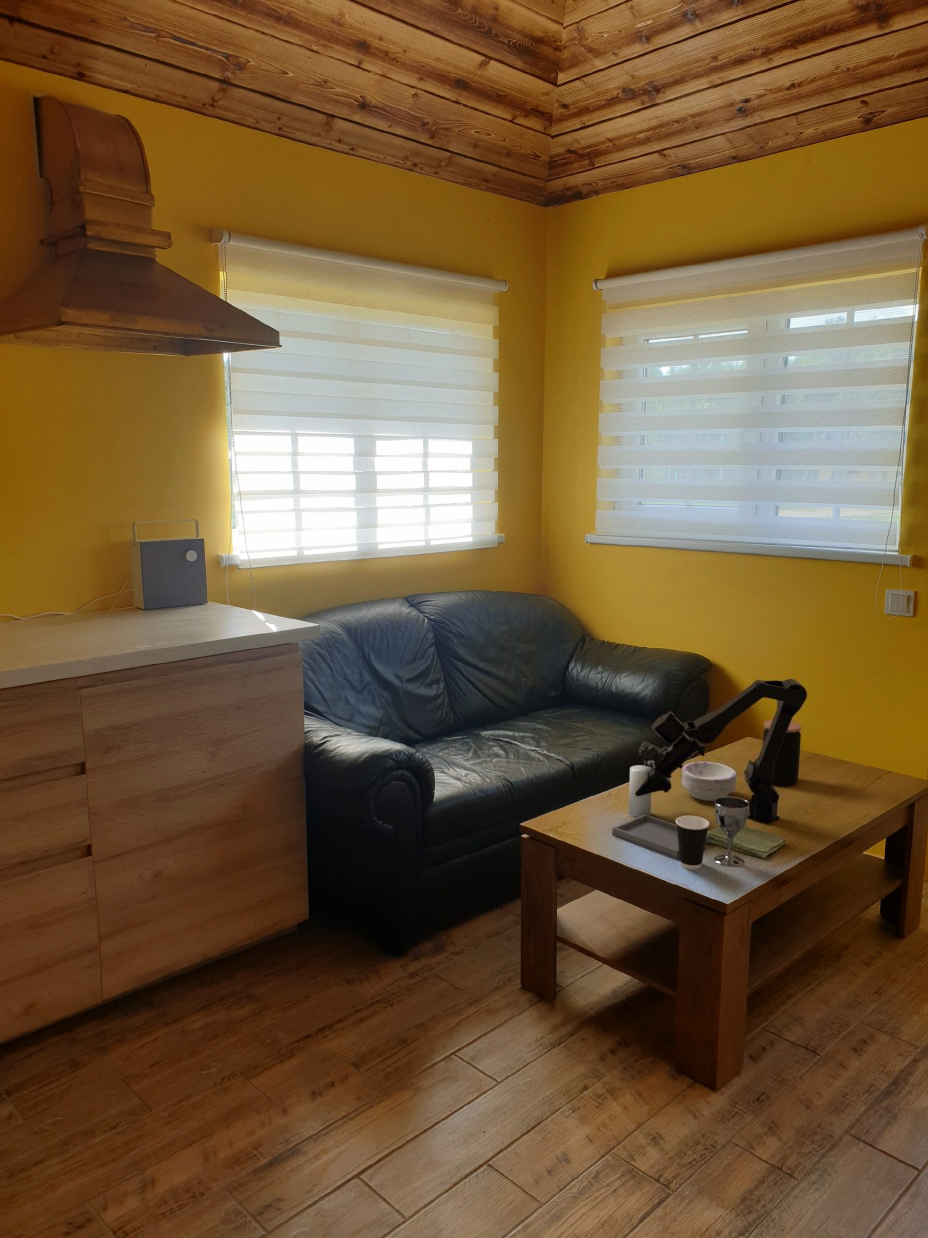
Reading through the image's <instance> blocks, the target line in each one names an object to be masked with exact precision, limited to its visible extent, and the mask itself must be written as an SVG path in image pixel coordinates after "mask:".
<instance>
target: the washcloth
mask: <svg viewBox="0 0 928 1238" xmlns="http://www.w3.org/2000/svg"><path fill="white" fill-rule="evenodd" d="M707 835H708V836H709V840H708V842H709V843H708V844H712V845H715V846H717V847H721V848H724V849H726V850H728V840H727V836H726V834H725V833H724V832H723V830H722V829H721V828H720V827H719V825H718V824H717V825H716V826H715V827H714V828H711V829H709V830H707ZM786 842H787V840H786V839H785V838H783V836H781V835H778V834H776V833H774V832H771V831H767V830H763V829H759V828H753V827H750V826H748V825H745V827H744V828H743V829H742V830H741V831H740V832H738V833H737V834H736V835H735V837H734V839H733V842H732V848H731V851H735V852H739V853H743V854H747V855H750V856H754V857H756V858H760V859H764V860H765V859H766V857H768V856H769V855H770V854H771V853H773V852H776V851H777V850H778V849H780V848H781V847H782V846H783V845H784V844H786Z"/></svg>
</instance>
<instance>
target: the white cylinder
mask: <svg viewBox="0 0 928 1238" xmlns="http://www.w3.org/2000/svg"><path fill="white" fill-rule="evenodd" d="M651 770H652V768H650V767H648V766H644V765H642V764H641V765H640V764H639V765H632V766H630V767H629V791H628V815H629V816H631V817H633V818H637V817H639V816H641V815H644V814H647V815H650V816H652V815H651V813H652V793H649V794H645V795H642V796H636V795H635V793H636V791H637V790H638V789H639V788H640V786H641V785H642V784H643V783H644V782H645V781H646V779H647V772H648V773H650V771H651Z"/></svg>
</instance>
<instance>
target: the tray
mask: <svg viewBox="0 0 928 1238" xmlns="http://www.w3.org/2000/svg"><path fill="white" fill-rule="evenodd" d="M611 835H612V836H613V837H617V838H619V839H622V840H624V841H627V842H630V843H632V844H635V845H637V844H638V846H641V847H643V848H646V849H648V850H651V851H653V852H655V853H658V854H660V855H661V854H662V855H664V856H666V855H667V857H669V858H672V859H674V860H675V859H676V860H679V848H678V834H677V824H676V823H674V822H673V823H672V822H669V821H668V820H664V819H661V818H658V817H656V816H653V815H647V814H644V815H641V816H639V817H637V818H636V817H633V818H632V819H630V820H627V821H625V822H623V823H621V824H618V825H616V826H614V827H612V834H611ZM708 840H709V836H708V835H707V836H706V842H705V846H706V845H708V844H710V843H709V842H708Z"/></svg>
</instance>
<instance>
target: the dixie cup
mask: <svg viewBox="0 0 928 1238" xmlns="http://www.w3.org/2000/svg"><path fill="white" fill-rule="evenodd" d="M675 824H676V825H677V834H678V848H679V858H678V860H679V862H680V866H681V867H683V868H685V869H689V870H696V869H699V868H701V866H702V863H703V860H704V853H705V848H706V845H705V842H706V836H707V831H709V830H708V829H709V827H710V822H709V820H707V819H705V818H703V817H701V816H697V815H682V816H680V817H677V818H675Z"/></svg>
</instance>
